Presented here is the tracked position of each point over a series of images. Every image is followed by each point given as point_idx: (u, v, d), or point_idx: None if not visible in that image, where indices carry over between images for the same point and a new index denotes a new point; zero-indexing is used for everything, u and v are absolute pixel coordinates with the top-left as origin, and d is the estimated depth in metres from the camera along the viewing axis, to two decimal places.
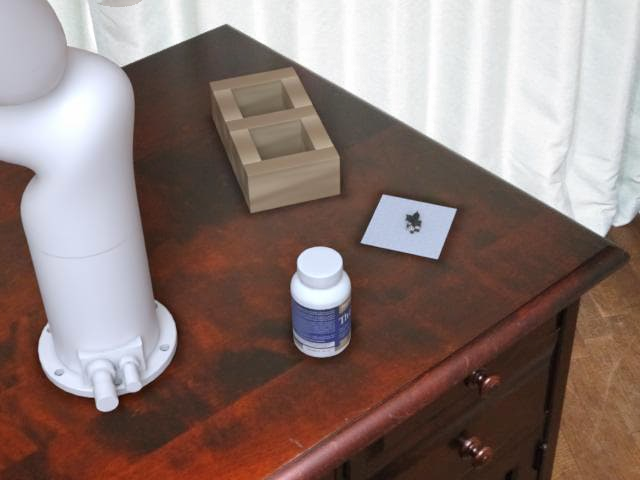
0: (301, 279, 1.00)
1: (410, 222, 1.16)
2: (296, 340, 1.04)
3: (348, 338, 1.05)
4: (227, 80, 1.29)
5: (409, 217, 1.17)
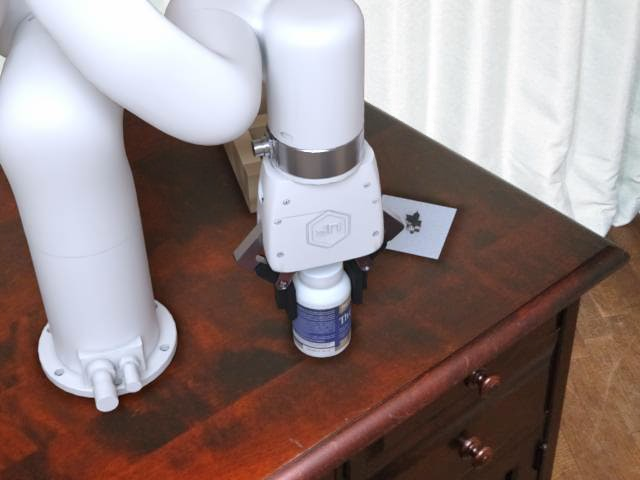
0: (301, 279, 1.00)
1: (410, 222, 1.16)
2: (296, 340, 1.04)
3: (348, 338, 1.05)
4: None
5: (409, 217, 1.17)
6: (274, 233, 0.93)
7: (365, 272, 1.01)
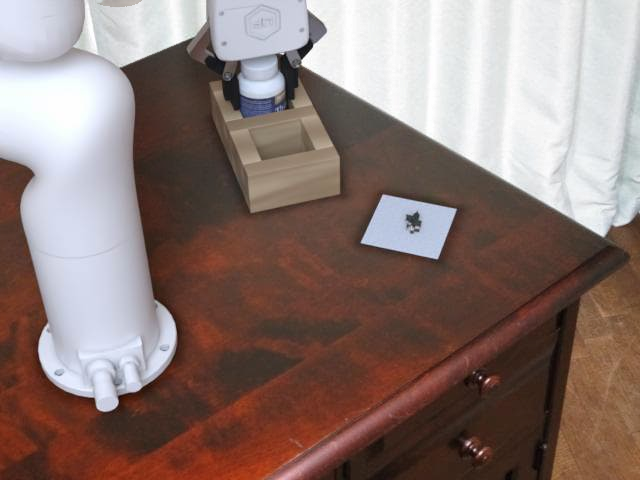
0: (243, 73, 1.22)
1: (410, 222, 1.16)
2: None
3: None
4: None
5: (409, 217, 1.17)
6: (218, 23, 1.16)
7: (296, 70, 1.24)
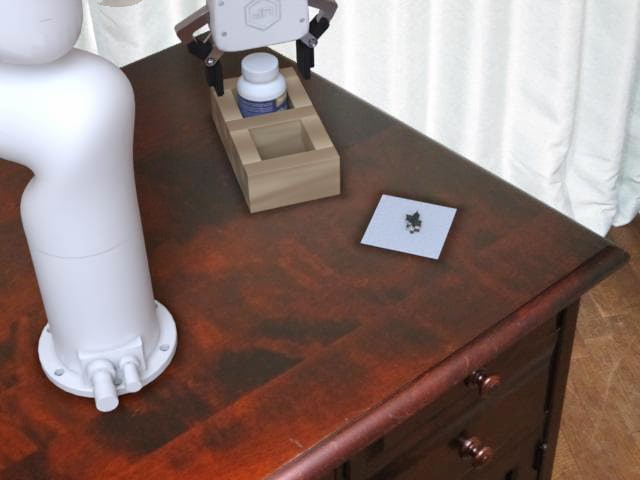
0: (244, 76, 1.23)
1: (410, 222, 1.16)
2: None
3: None
4: (227, 80, 1.29)
5: (409, 217, 1.17)
6: (218, 14, 1.15)
7: (312, 50, 1.23)
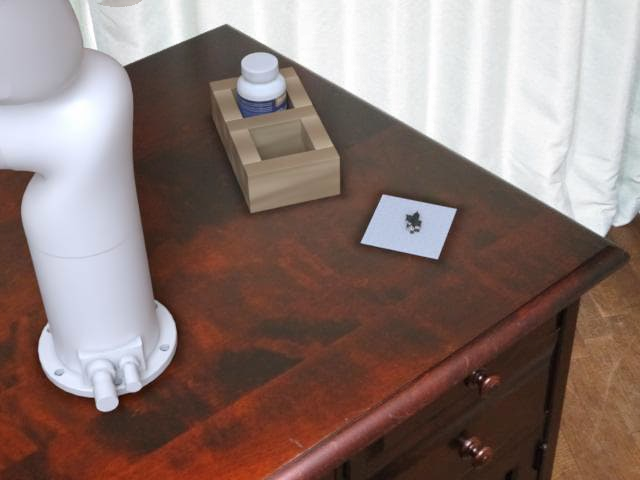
0: (244, 76, 1.23)
1: (410, 222, 1.16)
2: None
3: None
4: (227, 80, 1.29)
5: (409, 217, 1.17)
6: None
7: None
